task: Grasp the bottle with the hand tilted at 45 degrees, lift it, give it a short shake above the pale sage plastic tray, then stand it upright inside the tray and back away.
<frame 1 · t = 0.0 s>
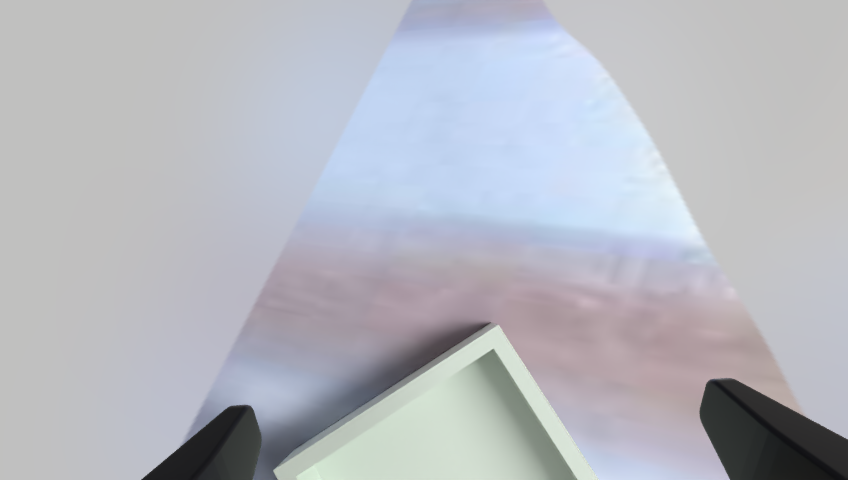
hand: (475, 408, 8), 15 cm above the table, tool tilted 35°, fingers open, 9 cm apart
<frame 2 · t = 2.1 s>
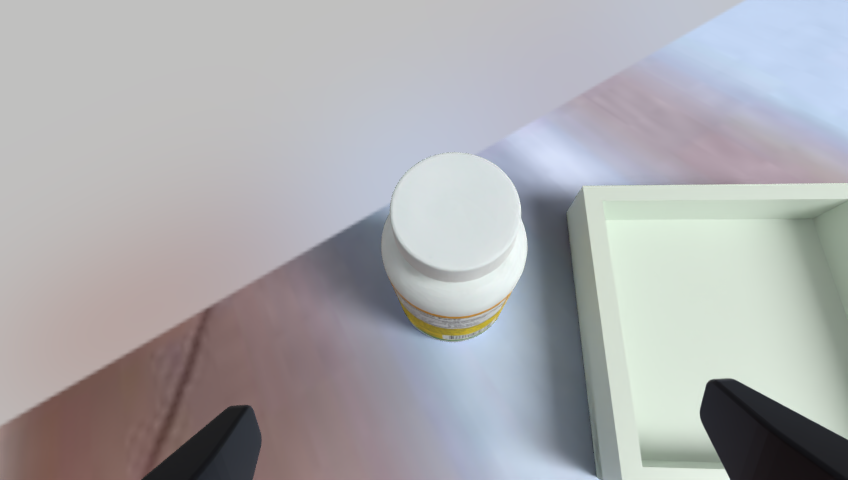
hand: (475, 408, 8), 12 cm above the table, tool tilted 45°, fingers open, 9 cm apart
supplement bottle: (451, 290, 22), on the table
tray: (714, 331, 20), on the table
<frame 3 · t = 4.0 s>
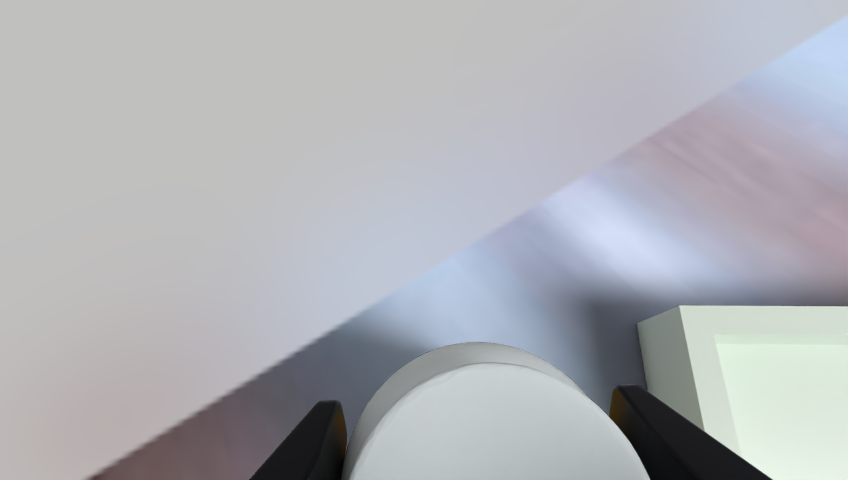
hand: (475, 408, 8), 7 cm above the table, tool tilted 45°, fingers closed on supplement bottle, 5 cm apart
supplement bottle: (466, 450, 14), on the table, touching gripper
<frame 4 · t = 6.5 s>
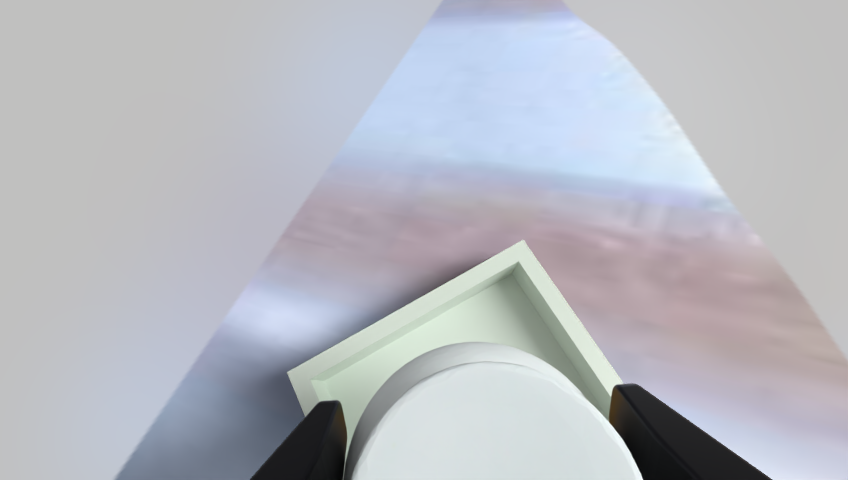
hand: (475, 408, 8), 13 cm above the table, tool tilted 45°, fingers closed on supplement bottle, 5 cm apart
supplement bottle: (466, 447, 14), point 6 cm above the table, touching gripper
tray: (476, 427, 20), on the table
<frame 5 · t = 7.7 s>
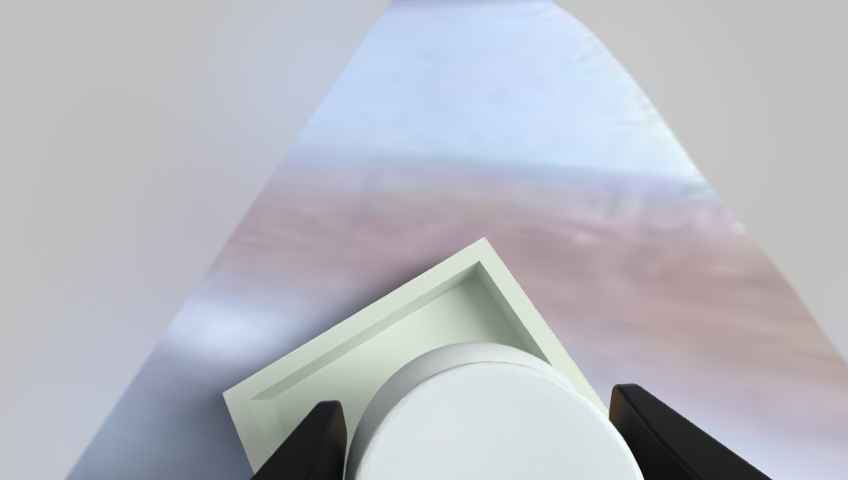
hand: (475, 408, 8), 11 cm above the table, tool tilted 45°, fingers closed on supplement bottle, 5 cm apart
supplement bottle: (464, 447, 14), point 4 cm above the table, touching gripper
tray: (439, 445, 18), on the table
when the fingers open (9 cm above the table, at t = 8.7 s): supplement bottle stays where it is, resting on tray.
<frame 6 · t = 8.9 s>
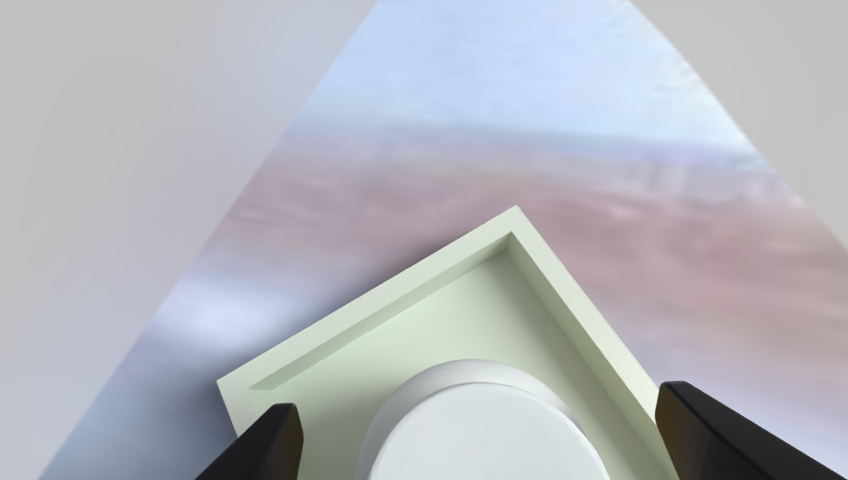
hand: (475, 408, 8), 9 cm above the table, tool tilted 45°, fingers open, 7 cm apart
supplement bottle: (464, 451, 15), point 1 cm above the table, touching tray
tray: (465, 443, 16), on the table
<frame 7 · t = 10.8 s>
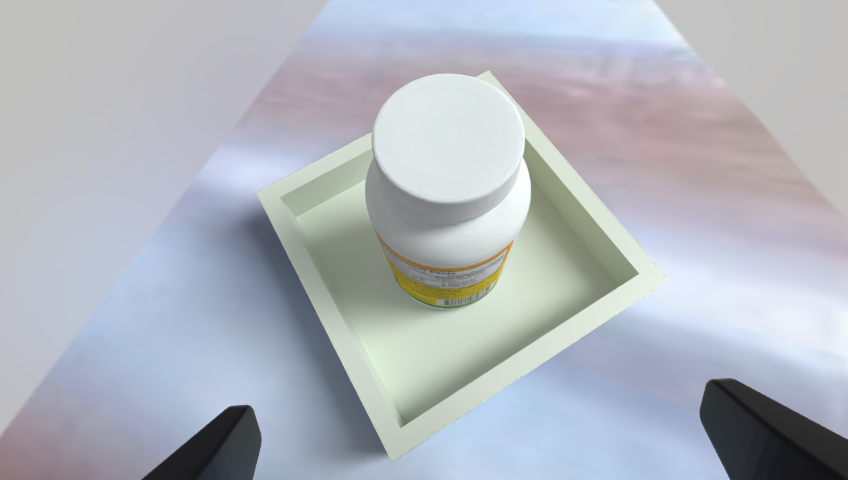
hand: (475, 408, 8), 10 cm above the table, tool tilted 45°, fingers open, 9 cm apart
supplement bottle: (447, 256, 20), point 1 cm above the table, touching tray
tray: (448, 256, 20), on the table
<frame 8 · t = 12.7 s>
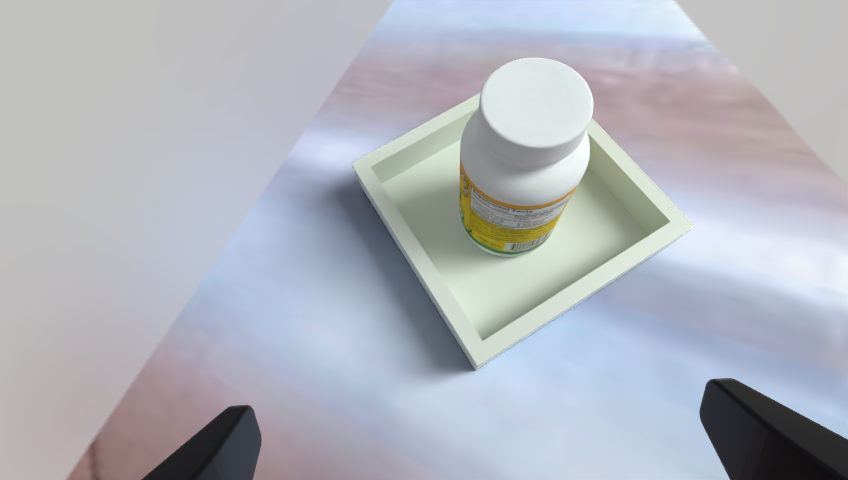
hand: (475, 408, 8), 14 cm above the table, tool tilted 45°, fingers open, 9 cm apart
supplement bottle: (506, 215, 24), point 1 cm above the table, touching tray
tray: (505, 216, 25), on the table
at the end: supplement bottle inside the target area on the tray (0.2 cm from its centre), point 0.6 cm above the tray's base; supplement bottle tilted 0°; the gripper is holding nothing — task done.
